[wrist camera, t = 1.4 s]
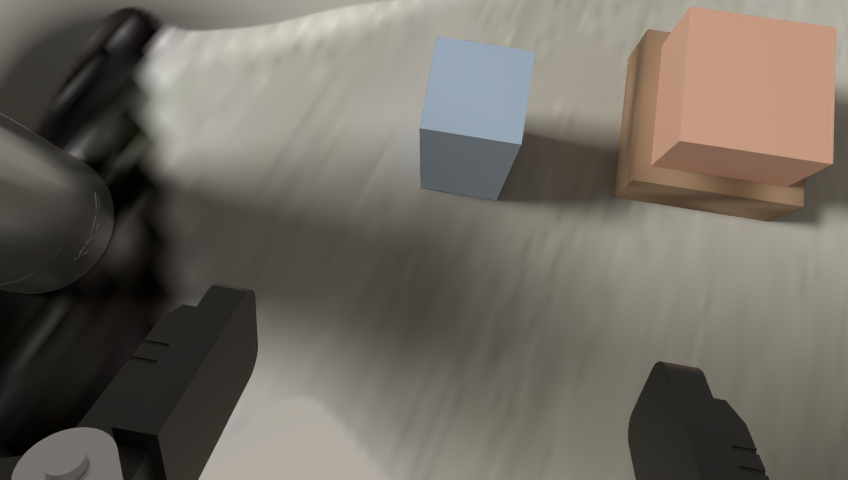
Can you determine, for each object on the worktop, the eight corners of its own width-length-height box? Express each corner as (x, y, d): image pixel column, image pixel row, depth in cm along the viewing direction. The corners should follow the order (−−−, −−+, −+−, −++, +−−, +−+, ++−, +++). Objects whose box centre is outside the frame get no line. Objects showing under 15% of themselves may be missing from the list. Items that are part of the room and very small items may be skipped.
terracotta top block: (651, 165, 35) (679, 140, 31) (661, 45, 36) (690, 6, 32) (786, 186, 34) (833, 164, 31) (791, 64, 36) (836, 27, 32)
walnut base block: (612, 198, 38) (633, 179, 35) (626, 61, 40) (647, 29, 37) (764, 222, 38) (803, 206, 34) (771, 83, 40) (809, 53, 36)
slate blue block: (420, 188, 38) (419, 127, 28) (433, 117, 39) (436, 36, 29) (496, 200, 38) (521, 144, 28) (507, 129, 39) (535, 51, 29)
